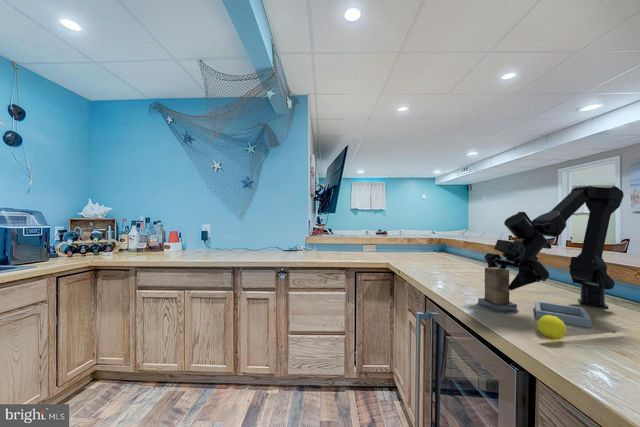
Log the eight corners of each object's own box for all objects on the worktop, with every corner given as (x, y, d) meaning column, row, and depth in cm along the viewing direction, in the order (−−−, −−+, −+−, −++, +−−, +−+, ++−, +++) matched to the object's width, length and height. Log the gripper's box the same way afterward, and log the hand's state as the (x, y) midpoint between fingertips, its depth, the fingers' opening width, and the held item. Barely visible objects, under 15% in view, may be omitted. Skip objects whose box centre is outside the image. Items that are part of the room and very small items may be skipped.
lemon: (565, 348, 62) (564, 325, 62) (535, 340, 66) (534, 318, 66) (567, 334, 67) (567, 313, 67) (539, 328, 71) (539, 308, 71)
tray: (535, 310, 85) (535, 300, 85) (583, 318, 79) (583, 307, 79) (536, 321, 76) (536, 310, 76) (591, 331, 70) (591, 319, 70)
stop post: (497, 305, 87) (497, 267, 88) (509, 309, 83) (509, 270, 83) (484, 305, 87) (484, 267, 87) (496, 310, 82) (496, 270, 82)
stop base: (498, 304, 91) (498, 295, 91) (528, 316, 80) (528, 306, 80) (468, 306, 89) (468, 297, 89) (495, 318, 79) (495, 308, 79)
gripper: (488, 229, 95) (460, 262, 93) (540, 232, 77) (505, 273, 75) (508, 251, 96) (480, 284, 94) (564, 260, 78) (530, 301, 76)
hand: (496, 285), depth 85 cm, fingers open, 9 cm apart
